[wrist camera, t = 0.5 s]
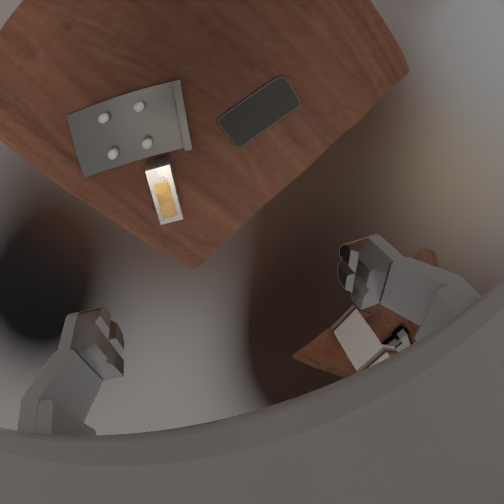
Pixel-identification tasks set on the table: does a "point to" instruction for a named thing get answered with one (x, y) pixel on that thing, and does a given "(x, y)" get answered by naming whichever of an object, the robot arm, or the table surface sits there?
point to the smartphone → (259, 111)
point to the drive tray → (130, 128)
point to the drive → (164, 189)
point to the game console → (401, 339)
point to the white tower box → (360, 339)
